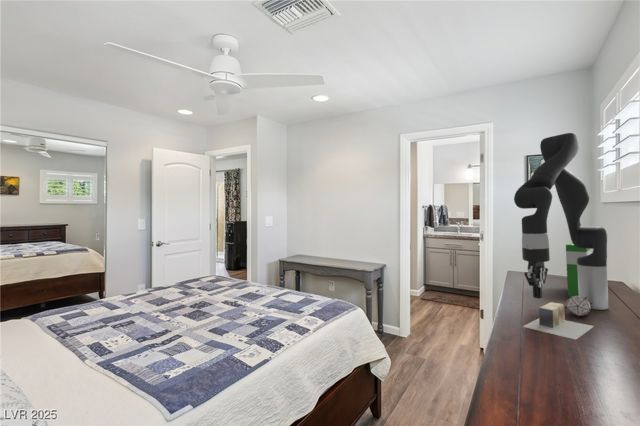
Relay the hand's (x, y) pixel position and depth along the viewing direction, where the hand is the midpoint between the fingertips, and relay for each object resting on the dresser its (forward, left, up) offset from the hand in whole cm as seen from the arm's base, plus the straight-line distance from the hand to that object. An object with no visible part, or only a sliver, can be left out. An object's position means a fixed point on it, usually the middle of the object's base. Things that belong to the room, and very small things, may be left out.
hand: (537, 297), depth 105 cm
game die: (-28, +3, -12) cm, 30 cm away
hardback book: (-68, -7, -12) cm, 69 cm away
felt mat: (-9, +2, -11) cm, 15 cm away
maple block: (-6, 0, -8) cm, 10 cm away
